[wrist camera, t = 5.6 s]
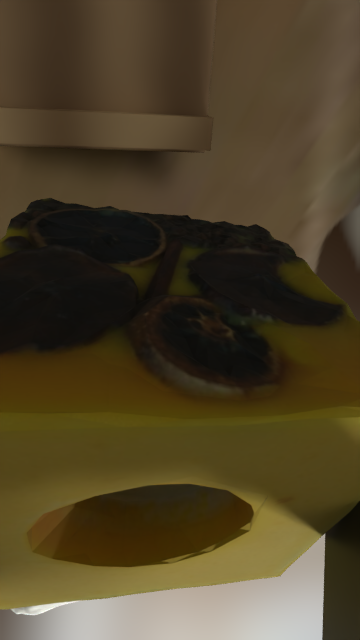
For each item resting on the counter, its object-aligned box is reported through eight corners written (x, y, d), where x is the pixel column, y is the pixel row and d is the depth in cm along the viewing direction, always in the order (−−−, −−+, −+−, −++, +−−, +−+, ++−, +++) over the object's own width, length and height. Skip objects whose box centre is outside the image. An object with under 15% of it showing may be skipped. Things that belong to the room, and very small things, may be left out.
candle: (220, 377, 19) (283, 578, 11) (56, 376, 17) (-15, 619, 9) (272, 221, 13) (498, 412, 5) (28, 192, 11) (-264, 428, 3)
